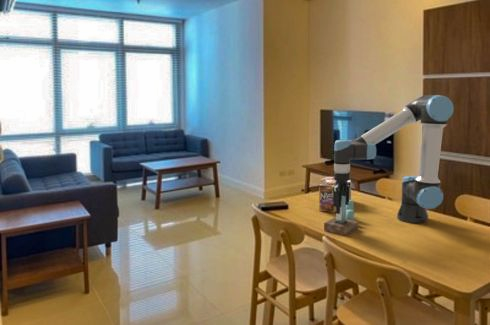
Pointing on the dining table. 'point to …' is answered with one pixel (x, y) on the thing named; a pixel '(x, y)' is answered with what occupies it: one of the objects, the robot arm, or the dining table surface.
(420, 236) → the dining table surface
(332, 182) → the gift box
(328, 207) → the candy box
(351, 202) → the medium dowel
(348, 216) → the short dowel
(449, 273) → the dining table surface
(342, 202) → the long dowel
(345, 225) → the walnut block
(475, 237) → the dining table surface
